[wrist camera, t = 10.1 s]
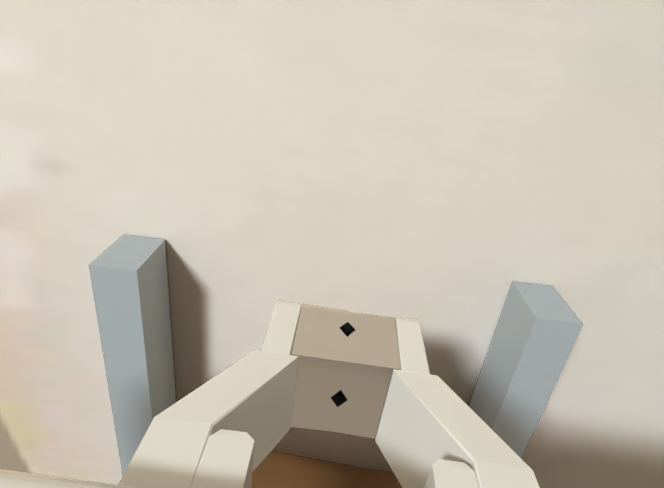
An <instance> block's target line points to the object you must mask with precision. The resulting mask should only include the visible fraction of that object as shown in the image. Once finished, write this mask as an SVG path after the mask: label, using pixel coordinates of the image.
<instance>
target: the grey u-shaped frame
mask: <svg viewBox="0 0 664 488" xmlns="http://www.w3.org/2000/svg"><path fill="white" fill-rule="evenodd" d="M89 270H90V276H91V282H92V288H93V295H94V301H95V307H96V313H97V319H98V326H99V332H100V338H101V344H102V351H103V357H104V363H105V369H106V375H107V382H108V388H109V394H110V400H111V406H112V413H113V419H114V425H115V431H116V437H117V444H118V450H119V456H120V462H121V469H122V475H124V473H125V471H126V469H127V467H128V465H129V464H130V462H131V460H132V458H133V456H134V454H135V452H136V450H137V449H138V447H139V445H140V443H141V441H142V439H143V437H144V435H145V434H146V432H147V430H148V428H149V426H150V424H151V422H152V420H153V419H154V417H155V416H157V415H158V414H160V413H161V412H163V411H164V410H166V409H167V408H169V407H170V406H172V405H173V404H175V403H176V393H175V378H174V363H173V348H172V334H171V319H170V304H169V289H168V275H167V260H166V245H165V239H157V238H149V237H140V236H132V235H124V234H123V235H122V236H121V237H120V238H119V239H118V240H117V241H115V242H114V243H113V244H112V245H111V246H110V247H109V248H107V249H106V250H105V251H104V252H103V253H102V254H100V255H99V256H98V257H97V258H96V259H95V260H94V261H92V262H91V263H90V264H89ZM582 326H583V323H582V322H581V321H580V319H579V318H578V317H577V316H576V314H575V313H574V312H573V310H572V309H571V308H570V307H569V305H568V304H567V303H566V302H565V300H564V299H563V298H562V297H561V295H560V294H559V293H558V292H557V290H556V289H555V288H554V287H553V286H546V285H538V284H530V283H522V282H513V281H512V284H511V287H510V290H509V293H508V295H507V298H506V301H505V304H504V307H503V310H502V313H501V315H500V318H499V321H498V324H497V327H496V330H495V332H494V335H493V338H492V341H491V344H490V347H489V350H488V352H487V355H486V358H485V361H484V364H483V367H482V369H481V372H480V375H479V378H478V381H477V384H476V386H475V389H474V392H473V395H472V398H471V401H470V404H469V407H470V408H471V409H472V410H473V411H474V412H475V413H476V414H477V415H478V416H479V417H480V418H481V419H482V420H483V421H484V422H485V423H486V424H487V425H488V426H489V427H490V428H491V429H492V430H493V431H494V432H495V433H496V434H497V435H498V436H499V437H500V438H501V439H502V440H503V441H504V442H505V443H506V444H507V445H508V446H509V447H510V448H511V449H512V450H513V451H514V452H515V453H516V454H517V455H518V456H519V457H520V458H522V456H523V454H524V451H525V449H526V447H527V445H528V443H529V441H530V438H531V436H532V434H533V432H534V430H535V428H536V425H537V423H538V421H539V419H540V417H541V415H542V412H543V410H544V408H545V406H546V404H547V402H548V399H549V397H550V395H551V393H552V391H553V389H554V386H555V384H556V382H557V380H558V378H559V376H560V373H561V371H562V369H563V367H564V365H565V363H566V360H567V358H568V356H569V354H570V352H571V350H572V347H573V345H574V343H575V341H576V339H577V337H578V335H579V332H580V330H581V328H582Z"/></svg>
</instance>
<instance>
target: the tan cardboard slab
mask: <svg viewBox="0 0 664 488" xmlns="http://www.w3.org/2000/svg"><path fill="white" fill-rule="evenodd" d="M251 488H402V486H401V484H400V483H399V481H398V479H397V478H396V476H395V474H394V473H389V472H383V471H378V470H372V469H367V468H361V467H356V466H350V465H345V464H339V463H334V462H328V461H323V460H317V459H312V458H306V457H300V456H295V455H289V454H284V453H278V452H273V451H271V452H270V453H269V454H268V455H267V456H266V457H265V459H264V460H263V461H262V462H261V463H260V464H259V465H258V466H257V468H256V469H255V470H254V471H253V472H252V485H251Z"/></svg>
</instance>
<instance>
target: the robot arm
mask: <svg viewBox="0 0 664 488" xmlns="http://www.w3.org/2000/svg"><path fill="white" fill-rule="evenodd" d="M290 427H295V428H304V429H313V430H322V431H331V432H338V433H344V434H350V435H356V436H362V437H368V438H374V439H375V441H376V443H377V445H378V447H379V448H380V450H381V452H382V454H383V455H384V457H385V459H386V460H387V462H388V464H389V466H390V467H391V469H392V471H393V472H394V474H395V476H396V478H397V479H398V481H399V483H400V484H401V486H402V488H540V487H539V485H538V482H537V479H536V477H535V474H534V472H533V470H532V469H531V468H530V467H529V466H528V465H527V464H526V463H525V462H524V461H523V460H522V459H521V458H520V457H519V456H518V455H517V454H516V453H515V452H514V451H513V450H512V449H511V448H510V447H509V446H508V445H507V444H506V443H505V442H504V441H503V440H502V439H501V438H500V437H499V436H498V435H497V434H496V433H495V432H494V431H493V430H492V429H491V428H490V427H489V426H488V425H487V424H486V423H485V422H484V421H483V420H482V419H481V418H480V417H479V416H478V415H477V414H476V413H475V412H474V411H473V410H472V409H471V408H470V407H469V406H468V405H467V404H466V403H465V402H464V401H463V400H462V399H461V398H460V397H459V396H458V395H457V394H456V393H455V392H454V391H453V390H452V389H451V388H450V387H449V386H448V385H447V384H446V383H445V382H444V381H443V380H442V379H441V378H440V377H439V376H437V375H431V374H430V370H429V365H428V360H427V355H426V350H425V346H424V341H423V336H422V331H421V326H420V322H419V321H418V320H417V319H409V318H400V317H394V318H393V317H386V316H378V315H370V314H363V313H355V312H348V311H344V310H338V309H332V308H326V307H320V306H313V305H307V304H302V305H301V304H300V303H294V302H287V301H280V300H278V302H277V303H276V305H275V308H274V311H273V315H272V318H271V321H270V324H269V328H268V331H267V334H266V338H265V341H264V344H263V347H262V351H258V350H254V351H252V352H251V353H249V354H248V355H246V356H245V357H243V358H242V359H240V360H239V361H237V362H236V363H234V364H233V365H231V366H230V367H228V368H227V369H225V370H224V371H222V372H221V373H219V374H218V375H216V376H215V377H213V378H212V379H210V380H209V381H207V382H206V383H204V384H203V385H201V386H200V387H198V388H197V389H195V390H194V391H192V392H191V393H189V394H188V395H187V396H185V397H184V398H182V399H181V400H179V401H178V402H176V403H175V404H173V405H172V406H170V407H169V408H167V409H166V410H164V411H163V412H161V413H160V414H158V415H157V416H155V417H154V419H153V420H152V422H151V424H150V426H149V428H148V430H147V432H146V434H145V435H144V437H143V439H142V441H141V443H140V445H139V447H138V449H137V450H136V452H135V454H134V456H133V458H132V460H131V462H130V464H129V465H128V467H127V469H126V471H125V473H124V475H123V477H122V479H121V480H120V482H119V484H118V485H112V484H105V483H98V482H91V481H83V480H76V479H69V478H62V477H54V476H47V475H40V474H33V473H25V472H18V471H11V470H3V469H0V488H251V485H252V472H253V471H254V470H255V469H256V468H257V466H258V465H259V464H260V463H261V462H262V461H263V460H264V459H265V457H266V456H267V455H268V454H269V453H270V452H271V451H272V450H273V448H274V447H275V446H276V445H277V444H278V443H279V442H280V441H281V439H282V438H283V437H284V436H285V435H286V434H287V433H288V431H289V430H290Z"/></svg>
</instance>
